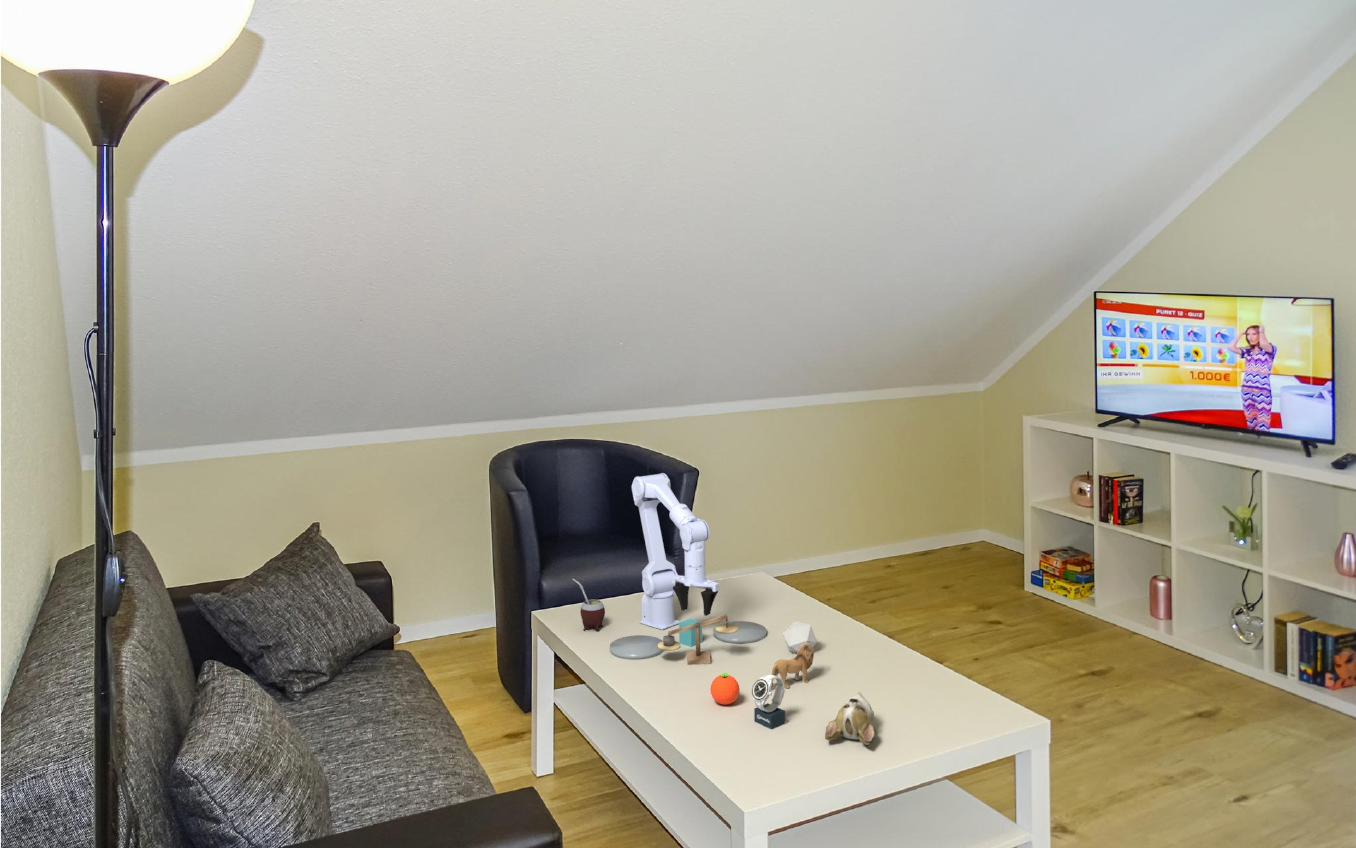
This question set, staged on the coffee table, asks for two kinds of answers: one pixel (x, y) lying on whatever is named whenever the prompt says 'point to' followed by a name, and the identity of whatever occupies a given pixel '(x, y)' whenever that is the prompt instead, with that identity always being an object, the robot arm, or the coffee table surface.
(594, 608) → the mate gourd
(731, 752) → the coffee table surface
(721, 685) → the clementine
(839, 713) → the ceramic sculpture
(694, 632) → the block
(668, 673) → the coffee table surface
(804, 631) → the die
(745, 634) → the grey round disc
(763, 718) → the watch
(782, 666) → the lion figurine
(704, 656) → the balance
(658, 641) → the dish low side
